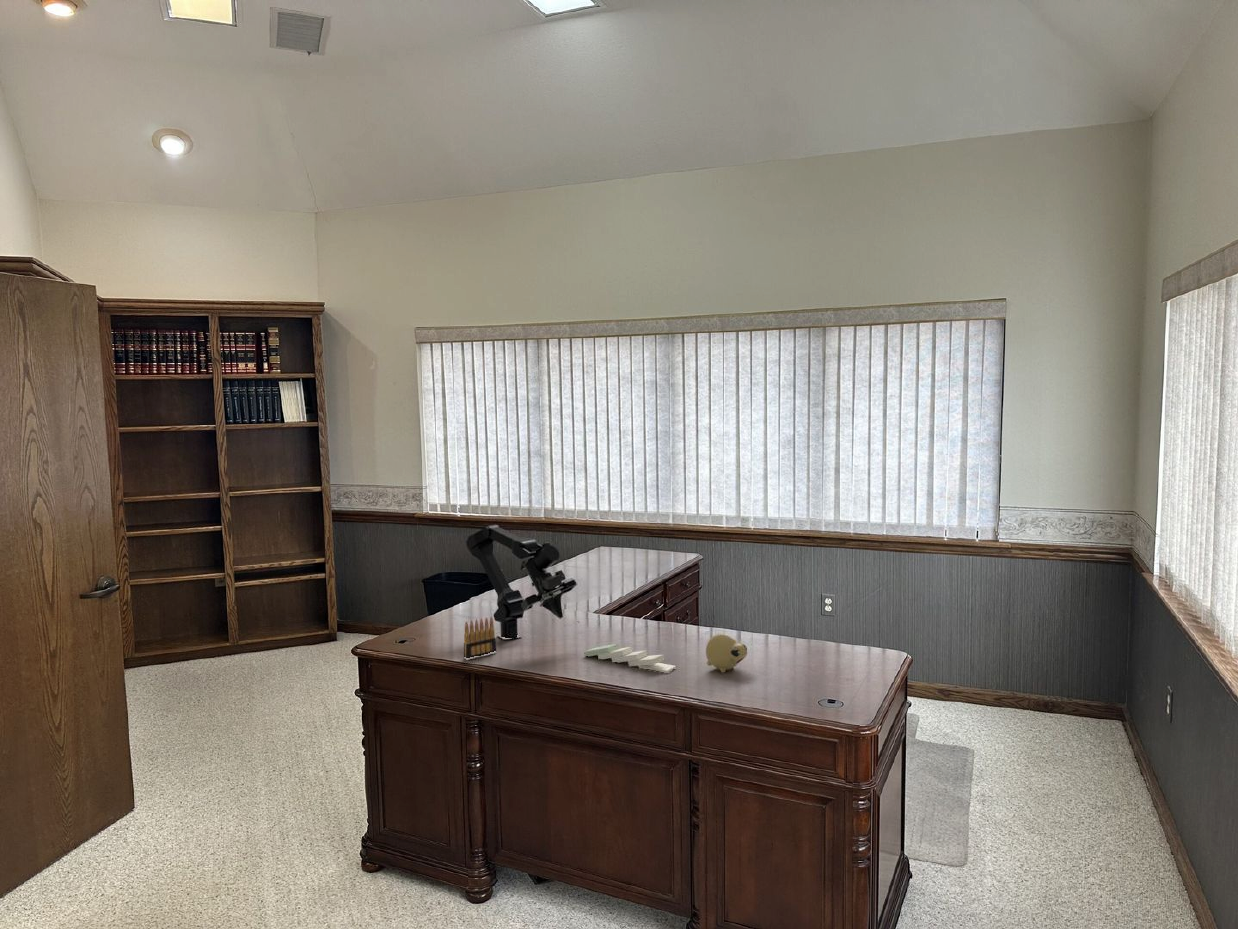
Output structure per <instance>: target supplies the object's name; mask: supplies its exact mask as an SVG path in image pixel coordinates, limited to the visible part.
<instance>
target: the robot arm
mask: <svg viewBox="0 0 1238 929" xmlns="http://www.w3.org/2000/svg"><path fill="white" fill-rule="evenodd" d="M494 542H497V543H498V544H500V545H501V546H504V547H506V548H508V549H510V550H511V554H512V555H513V556H515V557H516V558H518V559H519V560H524V559H526V560H524V561H522V562H521V565H520V570H521V571H523V570H526V573H527V574H528V576H529V578H530V580H531V582H532V583H531V585H532V587H535V589H536V592H537V593H538V594H535V593H534V594H532V595H530V596H527V597H525V598H524V597H523V596H522V593H521V592H520V590H519V589H516V590H514V589H512V588H511V586H510V583H509V582H508V580H507V578H506V576H505V574H504V572H503V570H502V569H501V566H500V565H499V563H498V560H497V558H496V556H495V554H494V546H495V544H494ZM466 548H467V549H468V551H469V553H470V554H471V555H472V556H473V557H475V558H476V559H478V560H479V561H480V563H481V566H482V567H483V569H484V571H485V573H486V575H487V577H488V579H489V581H490V583H491V585H492V586H493V590H494V591H495V593H496V595H497V599H496V600H497V601H496V605H497V609H496V611H494V613H493V620H494V621H496V622H499V623H500V624H499V625H500V626H499V627H500V634H501V637H505V638H516V637H517V635H518V634H519V632H518V620H519V619H523V617H524V614H525V612H527V611H529V610H530V609H532V608H533V605H535V604H537V603H540V604H539V607H540V608H542V607H543V608H544V609H546V610H548V611H549V612H550V613H552V614H553V615H554V616H556V617H557V618H558V619H563V617H564V616H563V609H562V608H563V607H562V596H563V595H564V594H567V593H570V592H571V591H572V590H573V589H574V588H575V587H576V586H578V583H577V582H576V579H574V578H572V577H571V578H569V579H566V576H565V573H564V572H563V570H562V569H559V570H558V571H556V572H555V573H554V575H553V574H552V573H551V571H549V572H548V570H547V569H549V568H550V567H551V566H552V565H553V564H555V562H556V563H557V561H558V560H559V558H560V552H559V550H558V549H557V548H556V547H555V546H553V545H551V544H550V542H543V543H542V545H541V544H540V543H538V541H537V540H536V539H534V538H530V537H522V536H521V537H520V536H519V535H515V534H514V533H512V532H510V531H507V530H506V529H504V528H501V527H500V526H499V525H498V524H491V525H486V526H485V527H483V528H482V529H480V530H479V531H477V532H475V533H473V534H471V535H469V536H468V537H467V539H466ZM516 639H517V638H516Z"/></svg>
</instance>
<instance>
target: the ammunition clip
mask: <svg viewBox="0 0 1238 929" xmlns="http://www.w3.org/2000/svg"><path fill="white" fill-rule="evenodd" d="M464 623H465V624H464V643H463V658H464V657H466V658H470V657H474V656H481V655H484V654H488V653H490V652H494V651H496V652H497V643H496V642H497V640H496V637H495V636H496V635H495V634H496V633H495V626H494V617H493V616H492V615H491V616H490V619H488V617H485V619H484V620H483V618H480V621H479V622H478V619H475V622H473V620H470V623H468V621H467V620H466V621H465V622H464Z"/></svg>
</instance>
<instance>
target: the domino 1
mask: <svg viewBox="0 0 1238 929" xmlns="http://www.w3.org/2000/svg"><path fill="white" fill-rule="evenodd" d="M617 649H620V646H619V643H614V644H613V643H612V644H609V645H602V646H597V647H593V648H590V649H588V650H585V651H583V654H584V657H585V656H588V657H593V656H598V655H599V654H605V653H610V652H612V651H615V650H617Z"/></svg>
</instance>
